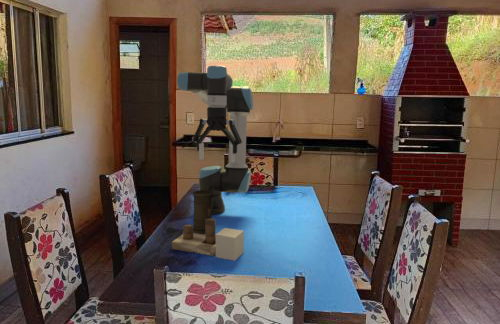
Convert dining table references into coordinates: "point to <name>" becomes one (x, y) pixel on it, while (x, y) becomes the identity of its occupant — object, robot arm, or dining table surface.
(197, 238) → the board
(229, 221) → the dining table surface
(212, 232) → the peg
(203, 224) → the container
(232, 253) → the block
